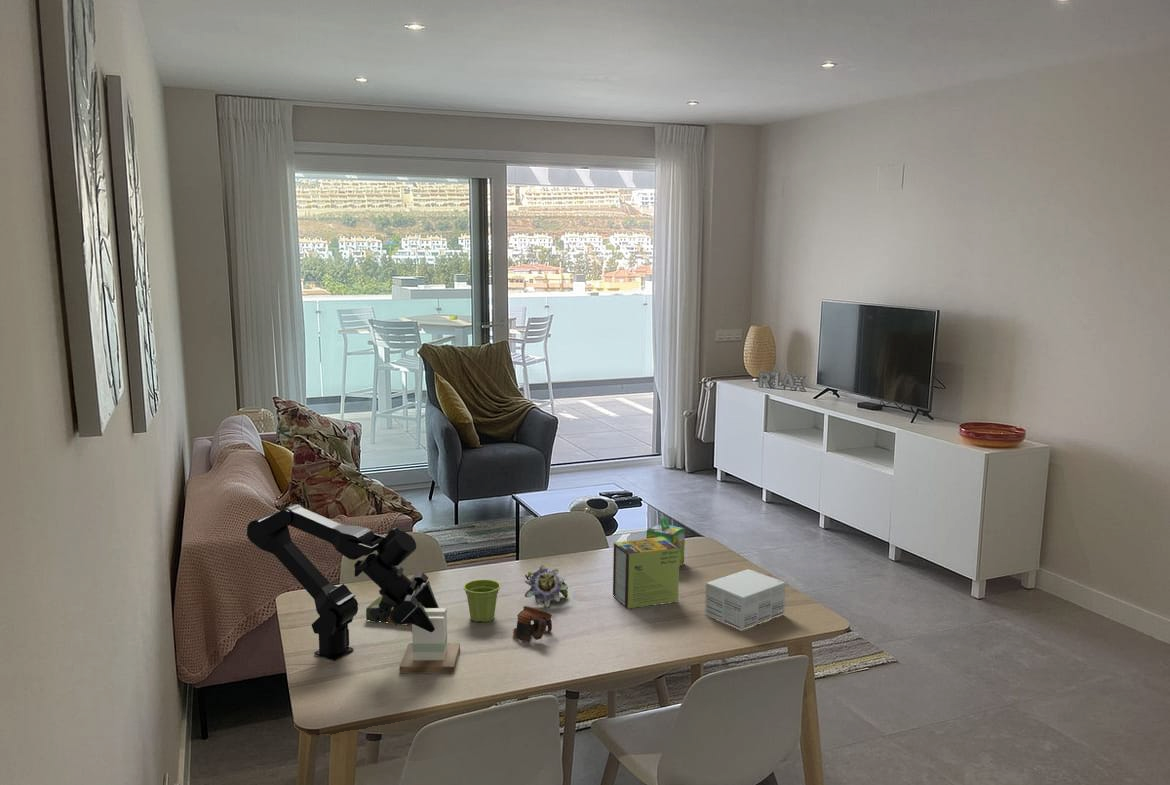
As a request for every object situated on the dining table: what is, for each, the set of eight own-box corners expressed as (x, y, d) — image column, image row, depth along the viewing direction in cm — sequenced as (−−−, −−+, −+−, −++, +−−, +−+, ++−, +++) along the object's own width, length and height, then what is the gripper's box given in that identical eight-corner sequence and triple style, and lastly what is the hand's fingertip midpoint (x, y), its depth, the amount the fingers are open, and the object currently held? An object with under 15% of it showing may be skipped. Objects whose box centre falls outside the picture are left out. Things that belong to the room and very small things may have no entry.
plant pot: (456, 617, 223) (456, 585, 221) (485, 607, 229) (485, 576, 228) (478, 628, 216) (478, 595, 215) (507, 618, 223) (507, 586, 221)
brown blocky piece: (504, 635, 214) (514, 602, 216) (536, 646, 217) (546, 613, 220) (525, 641, 203) (535, 606, 206) (558, 652, 207) (568, 618, 210)
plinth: (399, 673, 192) (399, 666, 192) (409, 649, 204) (408, 643, 204) (453, 673, 192) (453, 666, 192) (460, 649, 204) (459, 643, 204)
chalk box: (672, 572, 258) (673, 524, 256) (644, 566, 262) (646, 519, 260) (685, 563, 266) (686, 516, 263) (658, 558, 270) (659, 512, 268)
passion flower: (546, 625, 232) (524, 597, 226) (533, 604, 241) (511, 576, 235) (580, 599, 233) (559, 571, 227) (565, 579, 243) (545, 551, 237)
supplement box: (746, 600, 237) (747, 568, 236) (784, 616, 227) (786, 582, 225) (703, 615, 226) (704, 581, 225) (741, 632, 216) (743, 596, 215)
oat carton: (412, 660, 195) (411, 614, 193) (416, 649, 200) (415, 605, 199) (444, 660, 195) (443, 614, 194) (447, 649, 201) (446, 605, 199)
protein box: (679, 602, 235) (680, 547, 233) (627, 609, 229) (628, 553, 227) (661, 588, 244) (663, 536, 242) (611, 595, 239) (612, 541, 237)
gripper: (370, 584, 205) (418, 629, 207) (351, 616, 186) (404, 664, 188) (403, 552, 204) (451, 597, 206) (388, 581, 185) (440, 630, 187)
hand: (436, 622), depth 197 cm, fingers open, 9 cm apart
